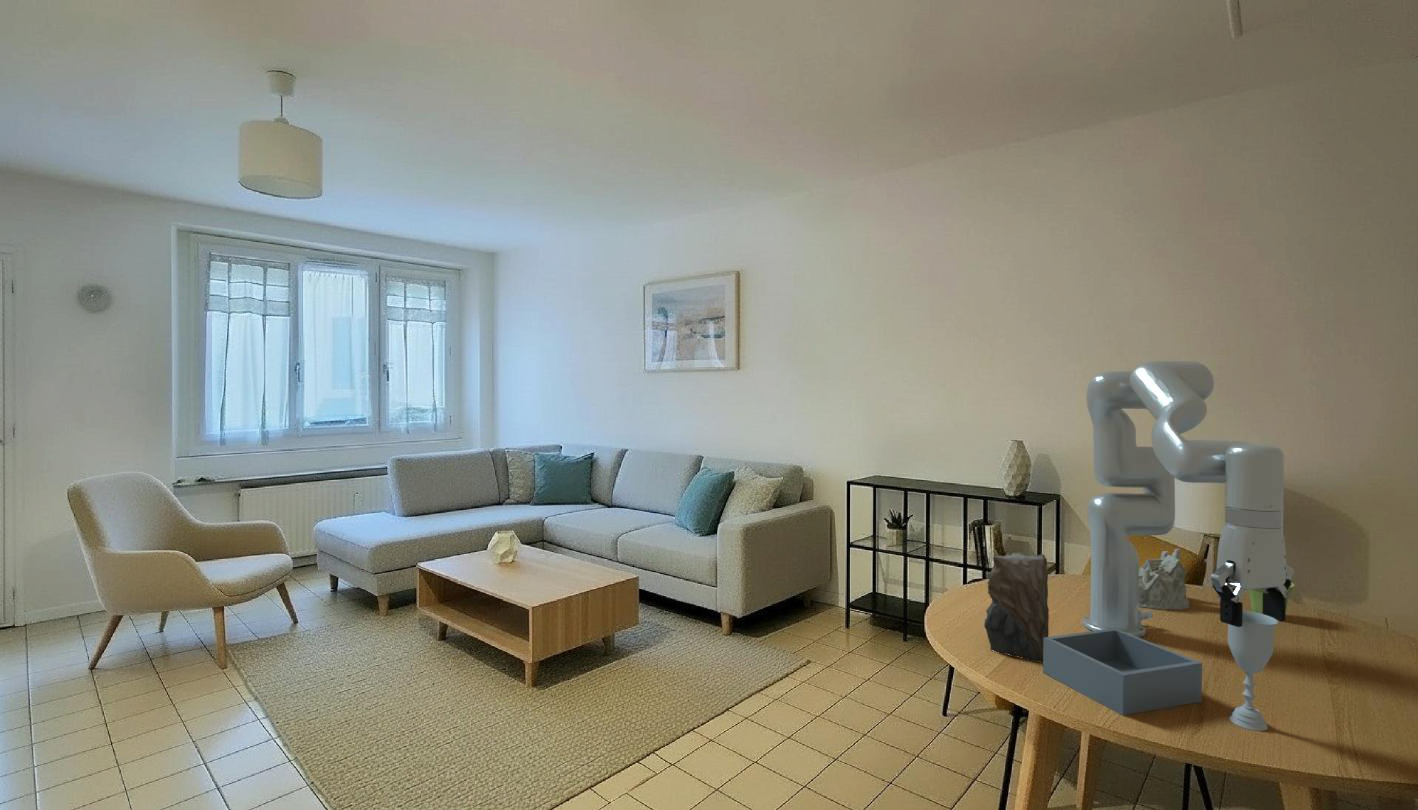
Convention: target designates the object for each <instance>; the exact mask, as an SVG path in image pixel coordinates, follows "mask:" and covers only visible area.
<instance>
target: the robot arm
mask: <svg viewBox="0 0 1418 810" xmlns="http://www.w3.org/2000/svg"><path fill="white" fill-rule="evenodd" d="M1214 387H1215V378H1214V375H1213V373H1212V372H1211V370H1210V369H1209V368H1208V367H1207V366H1206V365H1204V364H1203V363H1201V362H1198V361H1195V360H1194V361H1192V360H1170V361H1169V360H1167V361H1166V360H1160V361H1159V360H1158V361H1157V360H1156V361H1155V360H1154V361H1148V362H1145V363H1142V364H1139V365H1138V366H1136V367H1135V368H1134V369H1133V370H1118V371H1116V370H1114V371H1108V372H1107V371H1106V372H1102V373H1098V374H1096V375H1095V376H1093V377H1092V378H1091V380H1090V381H1089V383H1088V385H1087V388H1086V395H1085V396H1086V397H1085V398H1086V405H1087V410H1088V413H1089V416H1090V420H1091V423H1092V430H1093V431H1092V432H1093V435H1092V436H1093V445H1092V446H1093V472H1094V477H1095V480H1096V482H1098V484H1100V485H1102V486H1104V487H1109V488H1132V489H1133V488H1139V489H1140V488H1141V489H1142V490H1143V493H1131V492H1128V493H1127V492H1105V493H1100V494H1097V495H1094V496H1093V497H1091V499H1090V500H1089V501H1088V503H1087V506H1086V513H1087V521H1088V525H1089V532H1090V533H1089V534H1090V545H1091V546H1090V560H1091V561H1090V609H1089V610H1090V614H1089V615H1086V616H1084V617H1083V618H1082V625H1083V626H1084V627H1085V628H1087V629H1088V630H1090V631H1098V630H1106V629H1114V628H1116V629H1119V630H1121V631H1124V632H1126V633H1129V634H1131V635H1134V636H1136V637H1139V638H1141V637H1144V636H1145V635H1146V633H1147V630H1146V626H1144V625H1143V624H1141V623H1142V621H1143V620H1148V619H1153V616H1154V614H1153V612H1152V611H1151V610H1150V609H1146V610H1140V609H1139V607H1138V586H1139V569H1140V560H1139V559H1140V558H1139V557H1140V556H1139V553H1138V551H1137V549H1136V546H1134V545H1133V543H1132V541H1130V539H1129V537H1128V536H1162V535H1167V534H1168V533H1170V532H1172V530H1173V528H1174V526H1175V520H1176V490H1175V489H1176V488H1175V487H1176V484H1175V480H1178V481H1180V482H1183V483H1192V484H1193V483H1195V484H1196V483H1197V484H1202V483H1208V484H1209V483H1210V484H1213V483H1214V484H1217V483H1218V484H1225V492H1224V493H1225V495H1224V496H1225V501H1224V502H1225V503H1224V507H1225V508H1224V509H1225V510H1224V512H1225V513H1224V514H1225V515H1224V526H1222V529H1221V532H1220V535H1219V541H1218V547H1217V559H1216V570H1215V571H1214V572H1212V573H1211V575H1210V579H1211V581H1212V584H1213V589H1214V591H1215V593H1216V594H1217V598H1218V599H1219V609H1220V610H1219V621H1221V623H1224V624H1227V625H1228V624H1230V625H1233V626H1236V627H1242V615H1243V609H1244V608H1243V606H1244V605H1243V602H1240V600H1241V599H1242V597H1243V595H1244V593H1245V591H1249V590H1256V589H1265V590H1266V592H1267V593H1263V614H1264V615H1267V616H1270V617H1272V618H1275V619H1276V620H1277V621H1278V622H1286V617H1287V616H1286V612H1287V608H1286V598H1284V597H1287V596H1288V591H1287V590H1288V588H1289V587H1290V585H1291V583H1292V581H1291V580H1292V578H1293V576H1294V573H1295V569H1294V568H1293V567H1291V566H1290V565H1288V564H1287V551H1286V541H1285V535H1284V482H1285V481H1284V476H1285V475H1284V474H1285V472H1284V471H1285V470H1284V467H1285V462H1284V461H1285V459H1284V456H1285V455H1284V452H1283V451H1282V449H1280V448H1279V447H1277V446H1274V445H1270V444H1269V445H1267V444H1254V443H1251V442H1247V441H1242V440H1200V439H1199V440H1192V439H1191V440H1190V439H1189V440H1188V439H1186V438H1184V437H1183V436H1182V435H1181V434H1184V433H1186V432H1189V431H1190V430H1191V431H1192V429H1194V428H1196V427H1197V426H1199V425H1200V424H1201V423H1202V421H1204V419H1205V418H1206V415H1207V413H1208V406H1207V403H1206V402H1205V400H1206V399H1207V398H1209V397H1210V396H1211V395H1212V393H1213V391H1214ZM1124 409H1127V410H1128V409H1129V410H1130V409H1133V410H1148V412H1149V413H1150V414H1151V415H1152V417H1153V418H1154V419H1155V422H1154V425H1153V427H1152V430H1151V445H1152V446H1138V445H1137V431H1136V430H1137V429H1136V425H1135V424H1134V422H1133V420H1132V419H1131V417H1130V416H1129V415H1128V413H1127V412H1126V411H1124ZM1231 589H1235V590H1234V591H1232V590H1231Z"/></svg>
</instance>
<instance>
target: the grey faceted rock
mask: <svg viewBox="0 0 1418 810" xmlns="http://www.w3.org/2000/svg"><path fill="white" fill-rule="evenodd" d="M992 559H993V560H992V561H993V567H992V568H991V571H990V572H989V574H988V575H989V576H988V581H987V594H988V595H989V596H990V599H991V601H992V602H991V603H990V606H988V608H987V609H986V617H985V619H984V623H983V625H984V628H985V631H986V636H987V638H988V642H989V645H990V649H991V650H994V651H996V652H999V653H998V654H1000V653H1007V654H1010V655H1012V656H1011V657H1014V656H1019V657H1023V658H1022V659H1024V658H1026V659H1025V660H1027V659H1029V660H1028V661H1031V660H1033V661H1032V662H1037V661H1041V662H1040V663H1042V662H1043V645H1044V638H1045V637H1049V634H1050V633H1049V616H1050V614H1049V611H1050V609H1049V606H1048V605H1049V604H1048V599H1049V592H1048V591H1049V588H1048V587H1049V585H1048V579H1049V574H1048V570H1047V569H1048V560H1047V558H1046V556H1045V554H1037V555H1036V554H1029V553H1025V552H1020V551H1019V552H1013V553H1011V554H1005V555H994V556H993V557H992ZM991 650H990V651H991ZM996 652H995V653H996ZM1019 657H1018V658H1019Z"/></svg>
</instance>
